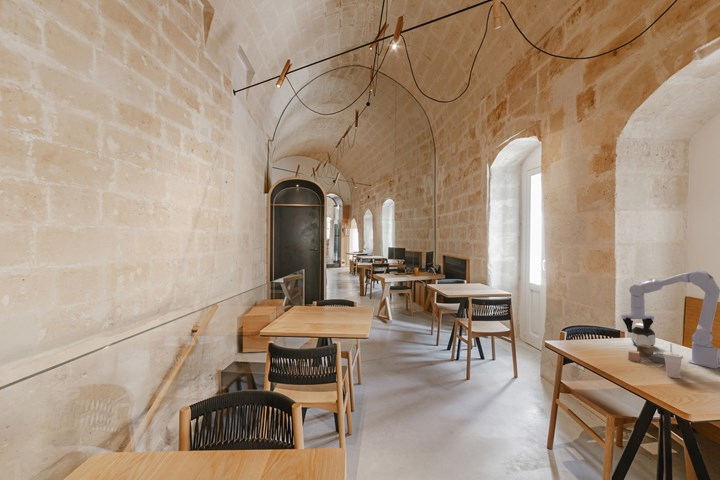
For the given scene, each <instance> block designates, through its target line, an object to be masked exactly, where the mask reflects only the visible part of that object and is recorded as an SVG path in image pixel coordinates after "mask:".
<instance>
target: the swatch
mask: <svg viewBox="0 0 720 480" xmlns="http://www.w3.org/2000/svg"><path fill="white" fill-rule="evenodd" d="M639 364H642V365H646V366H650V367H653V368H660V367H662V366H665V365H664V364H660V363H656V362H652V361H651V360H648V359H646V360H643V361H641V362H640V361H639Z"/></svg>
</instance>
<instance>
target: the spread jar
mask: <svg viewBox="0 0 720 480" xmlns="http://www.w3.org/2000/svg"><path fill="white" fill-rule="evenodd" d="M634 326H635V327H634ZM634 326H633V327H632V333H630V335H631V336H630V339H631V342H632V343H633V344H634V345H635V346H637V345H639V344H645V345H649V346H653V347H654V346H655V345H656V332H655V331H654V330H653V329H652V325H651V326H650V328H649V331H648V333H644V330H643V322H642V323H639V322H636V323H634Z"/></svg>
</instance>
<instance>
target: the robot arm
mask: <svg viewBox="0 0 720 480" xmlns="http://www.w3.org/2000/svg"><path fill="white" fill-rule="evenodd" d="M681 282H683V283H688V284H689V283H691V284H693V285H695V286H697V287H699V288H700V290H702V291H703V292H704V297H703V300H702V301H703V302H702V306H701V310H700V315H699V319H698V324H697V327H696V329H695V332H694V333H693V334H692V336H691V340H692V342H691V360H689V361H688V363H690V364H693V365H698V366H702V367H706V368H711V369H714V370H715V369H718V368H720V348H718V347H716V346H714V344H713V343H712V341H713V340H714V336H713V334H712V333H713V325H714V320H715V315H716V312H717V306H718V303H719V298H720V287H719V285H718V284H717V282H716V281H715V279H714V277H713V276H712V275H711V274H710V273H708V272H707V271H705V270H696V271H691V272H689V271H688V272H684V273H680V274H677V275H673V276H671V277H667V278H664V279H661V280H659V279H656V278H655V279H653V278H649V279H648V281H647V280H646V281H643V282H638V284H633V285H631V286H630V287H629V288H628V289H629V290H628V291H629V294H630V314H629V313H628V314H621V319H622V321H623V322H624V324H625V327H626V329H627V333H630V334H631V333H632V329H633V324H634V320H642V323H643V330H644V333H648V331H649V328H650V326H651V327H652V325H653V323H654V320H655V316H654V315H648V314H645V311H646V310H645V294H651V293H655V292H657V291H661V290H662V289H663V287H665V286H669V285H673V284H677V283H681Z"/></svg>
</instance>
